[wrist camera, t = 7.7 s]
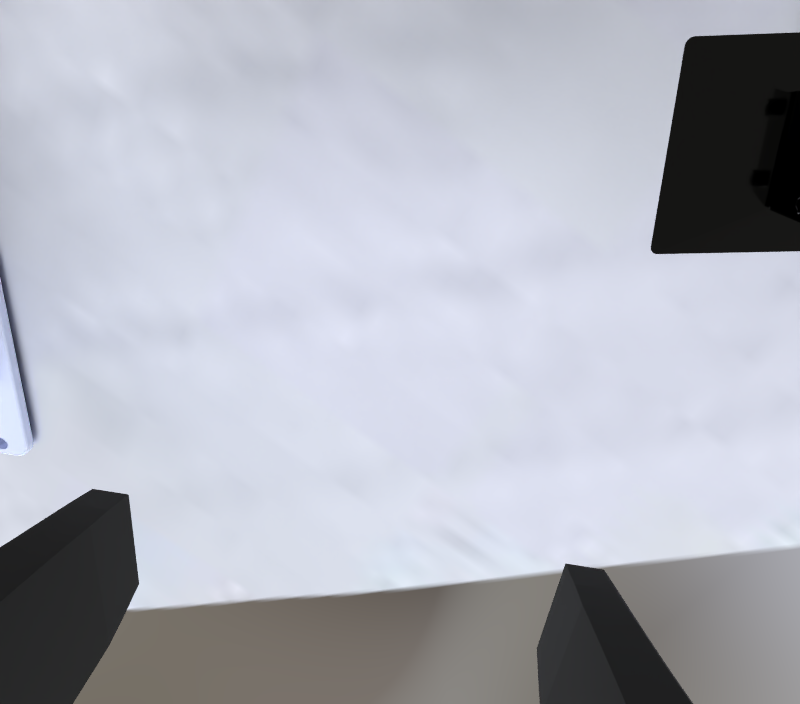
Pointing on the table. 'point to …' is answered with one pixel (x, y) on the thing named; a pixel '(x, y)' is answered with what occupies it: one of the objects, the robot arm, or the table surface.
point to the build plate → (733, 148)
